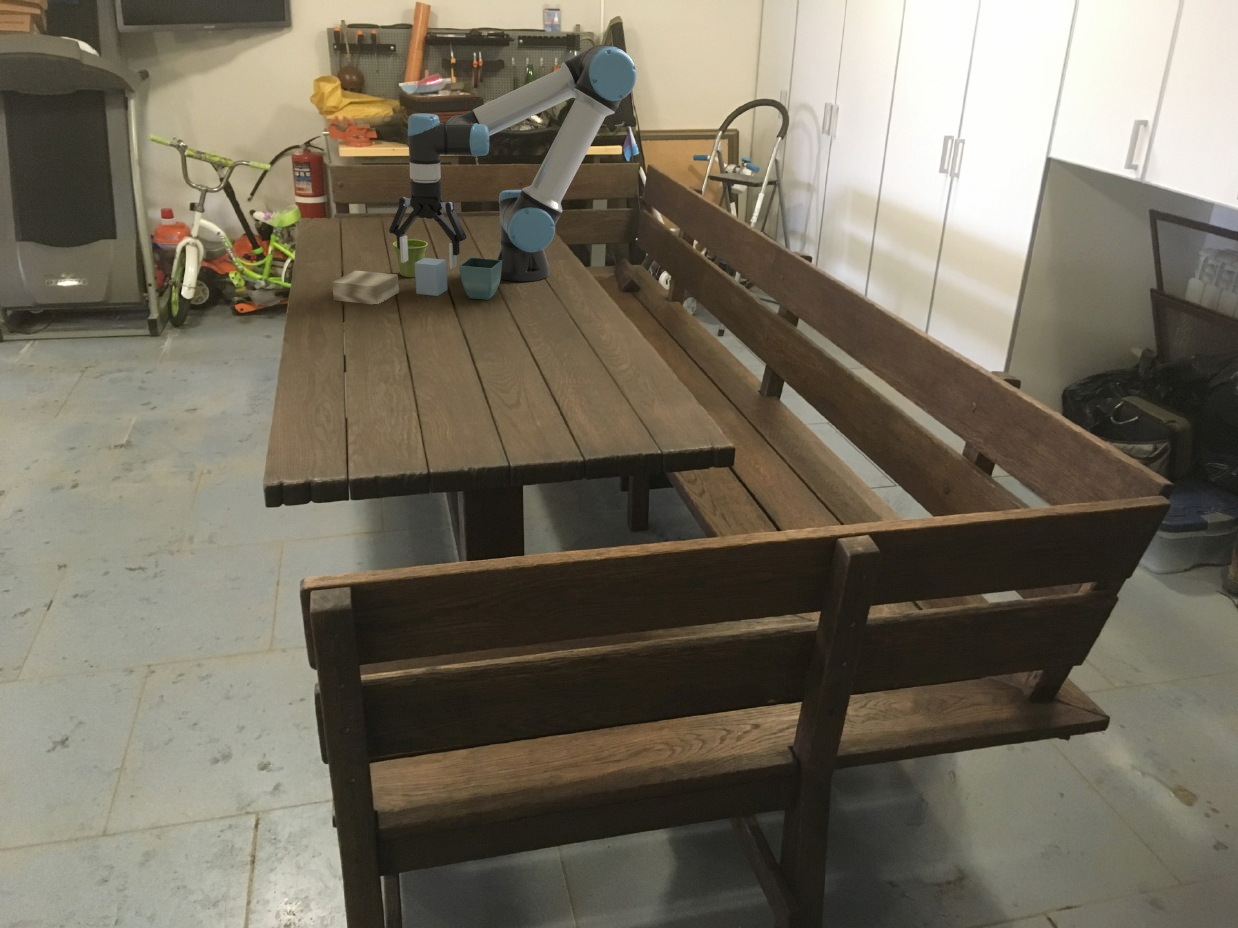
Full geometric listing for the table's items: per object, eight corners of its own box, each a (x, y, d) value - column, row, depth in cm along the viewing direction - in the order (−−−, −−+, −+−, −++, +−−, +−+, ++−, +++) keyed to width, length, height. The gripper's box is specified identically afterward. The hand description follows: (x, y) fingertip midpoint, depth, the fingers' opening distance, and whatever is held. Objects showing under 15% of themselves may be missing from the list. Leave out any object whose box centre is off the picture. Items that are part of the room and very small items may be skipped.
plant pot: (433, 271, 275) (431, 240, 272) (424, 280, 267) (422, 248, 263) (400, 269, 276) (398, 238, 272) (390, 278, 268) (387, 246, 264)
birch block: (399, 293, 256) (397, 274, 254) (377, 306, 246) (375, 286, 244) (357, 289, 259) (355, 270, 257) (333, 301, 249) (331, 282, 246)
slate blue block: (447, 290, 260) (446, 259, 256) (437, 296, 254) (436, 265, 251) (426, 287, 261) (424, 257, 257) (416, 293, 256) (414, 263, 252)
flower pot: (493, 303, 250) (492, 268, 246) (459, 300, 251) (458, 265, 247) (503, 294, 258) (503, 259, 254) (471, 291, 259) (470, 257, 255)
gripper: (478, 182, 246) (479, 266, 255) (386, 173, 251) (391, 256, 260) (466, 187, 239) (467, 273, 248) (372, 177, 245) (377, 262, 254)
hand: (428, 264), depth 254 cm, fingers open, 13 cm apart
